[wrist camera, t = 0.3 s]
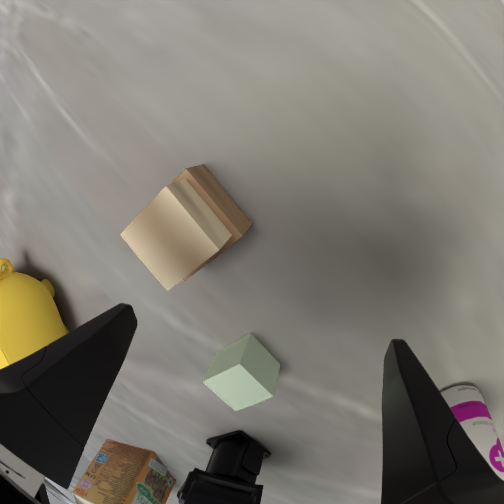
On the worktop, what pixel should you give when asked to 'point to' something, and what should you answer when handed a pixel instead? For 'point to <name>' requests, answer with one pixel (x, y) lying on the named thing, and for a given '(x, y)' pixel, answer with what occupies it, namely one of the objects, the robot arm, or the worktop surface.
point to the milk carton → (124, 477)
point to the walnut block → (216, 206)
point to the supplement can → (476, 423)
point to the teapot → (26, 315)
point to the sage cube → (243, 373)
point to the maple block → (175, 233)
